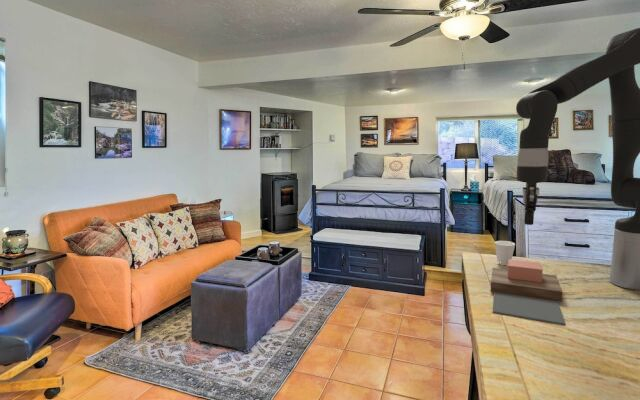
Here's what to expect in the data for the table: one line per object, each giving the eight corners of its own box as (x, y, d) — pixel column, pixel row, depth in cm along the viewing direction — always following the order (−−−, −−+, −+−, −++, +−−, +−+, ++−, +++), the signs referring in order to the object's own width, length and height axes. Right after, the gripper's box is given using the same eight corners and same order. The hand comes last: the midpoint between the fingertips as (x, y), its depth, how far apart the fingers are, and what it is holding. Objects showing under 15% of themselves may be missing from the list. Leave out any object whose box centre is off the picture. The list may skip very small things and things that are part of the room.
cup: (489, 263, 132) (490, 242, 131) (501, 258, 138) (502, 238, 137) (509, 268, 127) (511, 246, 125) (520, 262, 133) (522, 241, 132)
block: (507, 270, 115) (508, 259, 115) (539, 274, 111) (540, 262, 111) (507, 278, 109) (508, 265, 109) (541, 282, 105) (542, 269, 105)
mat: (494, 293, 106) (494, 291, 106) (557, 302, 98) (558, 301, 98) (492, 312, 93) (492, 311, 93) (565, 325, 86) (565, 323, 86)
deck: (492, 276, 119) (492, 267, 119) (555, 284, 111) (556, 275, 111) (490, 291, 107) (491, 281, 107) (561, 301, 99) (562, 291, 98)
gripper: (550, 165, 93) (546, 230, 95) (545, 163, 104) (541, 220, 107) (518, 165, 96) (514, 227, 98) (516, 163, 108) (513, 219, 110)
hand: (528, 224), depth 103 cm, fingers closed
